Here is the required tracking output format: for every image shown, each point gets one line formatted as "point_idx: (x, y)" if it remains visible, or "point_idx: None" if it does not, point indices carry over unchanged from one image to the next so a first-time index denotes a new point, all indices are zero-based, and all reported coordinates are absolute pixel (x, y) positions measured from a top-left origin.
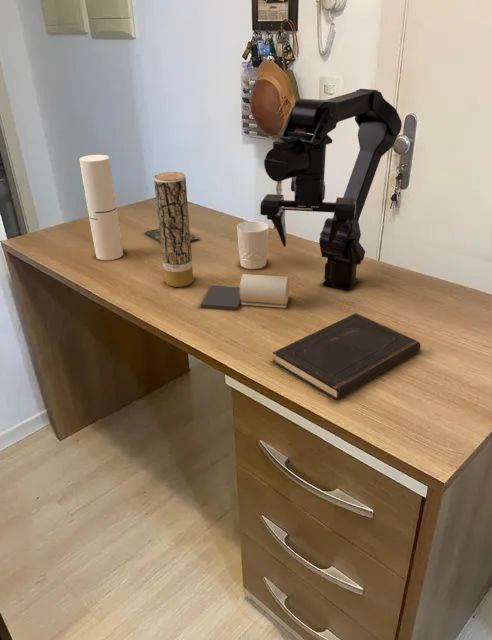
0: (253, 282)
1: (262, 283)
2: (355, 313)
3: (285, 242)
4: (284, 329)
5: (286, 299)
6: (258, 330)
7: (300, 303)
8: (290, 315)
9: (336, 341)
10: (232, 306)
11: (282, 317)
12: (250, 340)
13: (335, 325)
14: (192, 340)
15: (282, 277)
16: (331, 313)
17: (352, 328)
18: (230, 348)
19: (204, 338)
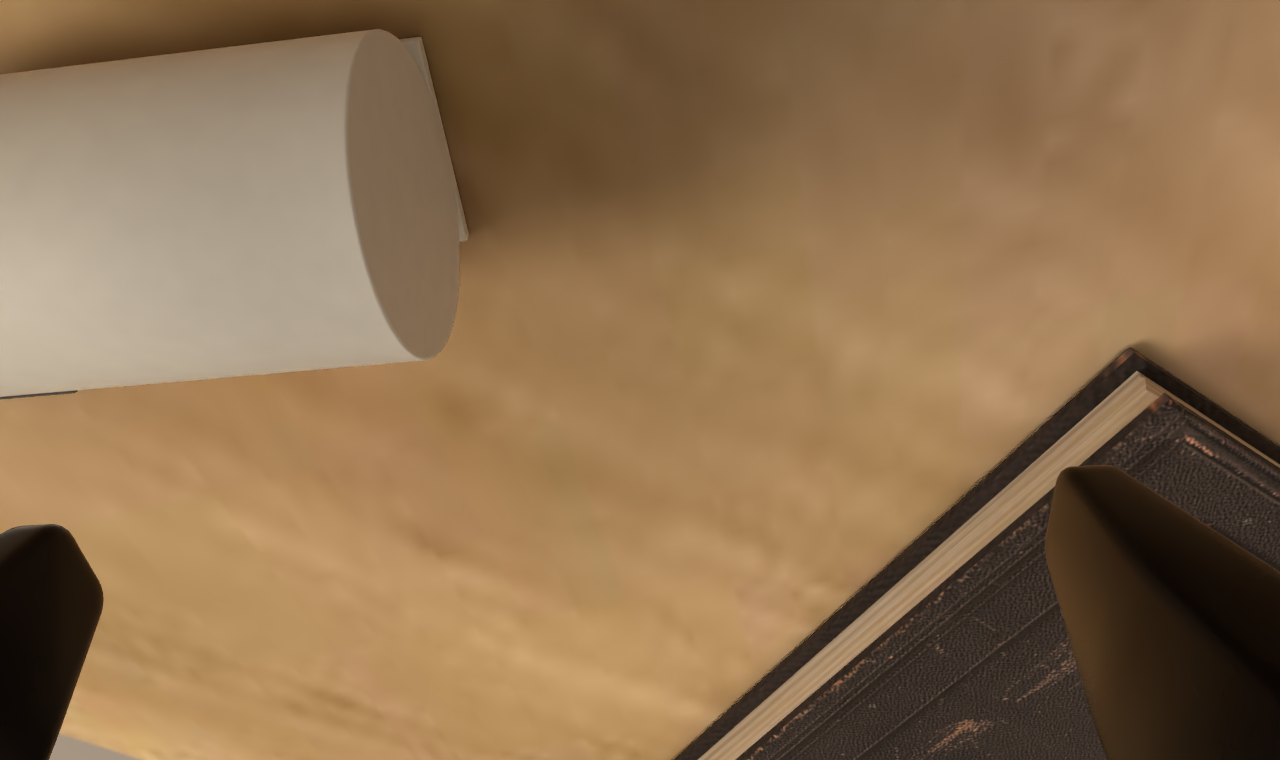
0: (33, 386)
1: (137, 376)
2: (1166, 413)
3: (60, 694)
4: (579, 538)
5: (445, 222)
6: (412, 581)
7: (579, 103)
8: (557, 351)
9: (975, 752)
10: (40, 393)
11: (504, 394)
12: (419, 676)
13: (971, 603)
14: (109, 729)
15: (299, 272)
16: (918, 232)
17: None
18: (353, 750)
19: (155, 704)
